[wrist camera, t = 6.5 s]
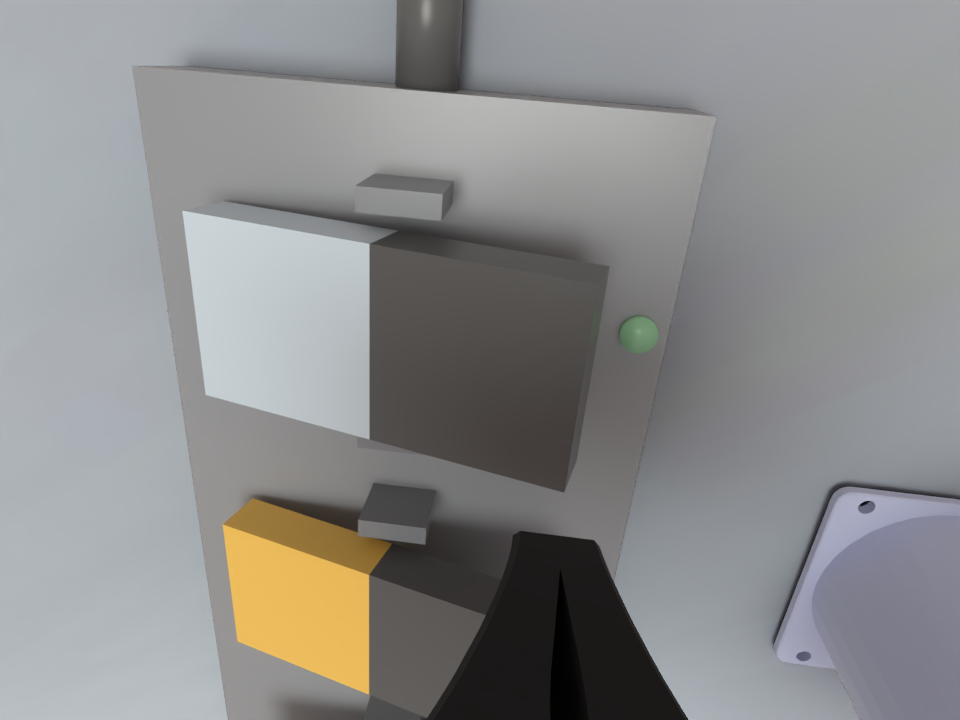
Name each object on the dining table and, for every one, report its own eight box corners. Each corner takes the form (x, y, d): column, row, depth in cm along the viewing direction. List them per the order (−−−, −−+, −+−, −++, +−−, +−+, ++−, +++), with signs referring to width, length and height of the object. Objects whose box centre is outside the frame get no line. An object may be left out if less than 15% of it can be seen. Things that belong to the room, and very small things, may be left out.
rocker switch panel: (737, -100, 15) (804, -159, 11) (552, 793, 30) (553, 903, 26) (162, -139, 16) (33, -208, 12) (263, 749, 30) (221, 849, 26)
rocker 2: (553, 595, 17) (540, 634, 16) (533, 714, 20) (520, 756, 18) (252, 498, 20) (222, 524, 19) (263, 611, 22) (237, 641, 21)
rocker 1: (609, 266, 13) (598, 284, 12) (576, 460, 16) (564, 492, 14) (222, 201, 16) (182, 210, 15) (240, 374, 18) (205, 394, 17)
